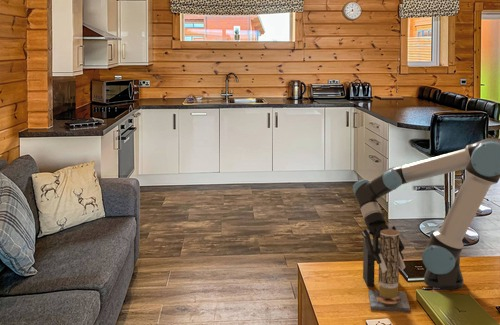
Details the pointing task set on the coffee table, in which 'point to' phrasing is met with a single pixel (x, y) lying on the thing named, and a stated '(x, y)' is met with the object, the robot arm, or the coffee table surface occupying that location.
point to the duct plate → (388, 302)
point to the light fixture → (370, 266)
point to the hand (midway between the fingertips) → (394, 269)
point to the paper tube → (389, 263)
